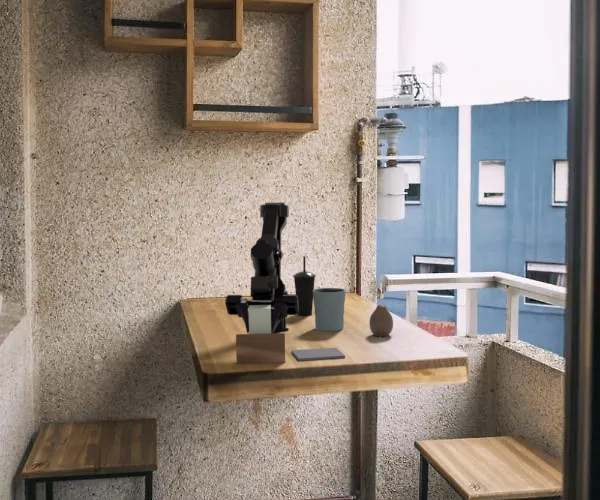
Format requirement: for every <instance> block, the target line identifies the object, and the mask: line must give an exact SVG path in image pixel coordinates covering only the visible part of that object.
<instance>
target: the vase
mask: <svg viewBox="0 0 600 500" xmlns="http://www.w3.org/2000/svg"><path fill="white" fill-rule="evenodd" d="M368 324H369V330H370V332H371V333H372V334H373V335H374V336H375V337H380V336H384V337H387V336H390V334H391V333H392V331H393V329H394V320H393V316H392V314H391V313H390V311H389V310H388V308H387V306H386V305H385V304H378V305H377V306H376V307H375V309H374V310H373V311H372V313H371V315H370V317H369V323H368Z"/></svg>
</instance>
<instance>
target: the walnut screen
mask: <svg viewBox="0 0 600 500" xmlns="http://www.w3.org/2000/svg"><path fill="white" fill-rule="evenodd" d="M235 346H236V349H235V350H236V351H235V352H236V353H235V354H236V356H235V357H236V364H240V365H241V364H275V363H276V364H278V363H286V334H285V332H284V333H280V332H279V333H278V332H277V333H271V334H249V333H244V334H243V333H242V334H241V333H240V334H238V333H237V334H235Z"/></svg>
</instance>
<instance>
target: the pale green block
mask: <svg viewBox="0 0 600 500" xmlns="http://www.w3.org/2000/svg"><path fill="white" fill-rule="evenodd" d="M248 312H249V333H248V334H272V333H271V306H270V305H249V308H248Z"/></svg>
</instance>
